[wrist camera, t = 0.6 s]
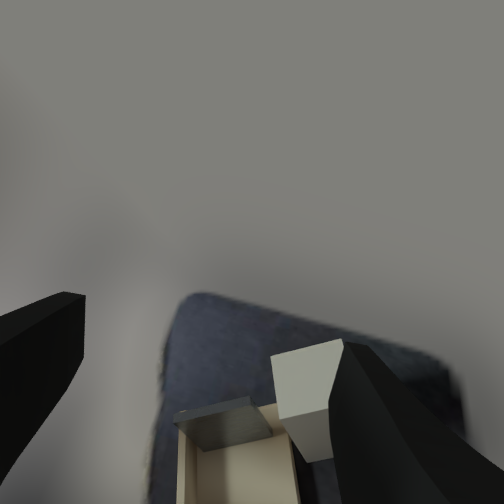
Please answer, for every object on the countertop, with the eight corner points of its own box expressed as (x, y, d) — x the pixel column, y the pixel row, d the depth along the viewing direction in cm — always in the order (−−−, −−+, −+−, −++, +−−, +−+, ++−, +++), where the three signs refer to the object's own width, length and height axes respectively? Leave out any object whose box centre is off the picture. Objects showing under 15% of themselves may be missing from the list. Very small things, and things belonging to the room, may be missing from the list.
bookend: (273, 436, 29) (250, 404, 26) (204, 452, 30) (173, 423, 27) (272, 428, 30) (249, 395, 26) (203, 443, 30) (173, 413, 27)
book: (373, 448, 28) (358, 401, 23) (307, 463, 28) (279, 419, 24) (357, 391, 31) (341, 338, 26) (297, 405, 31) (270, 356, 27)
